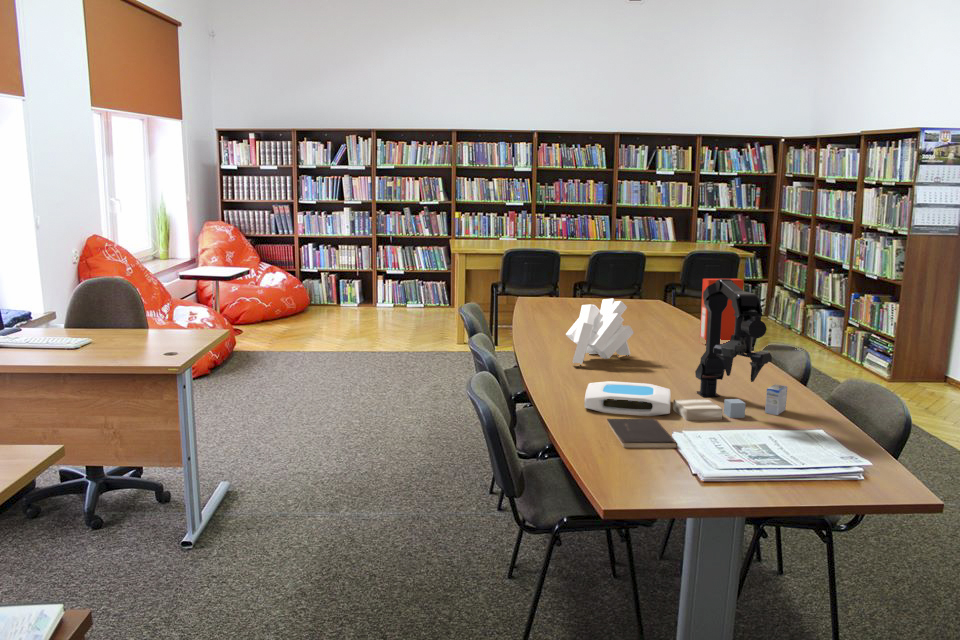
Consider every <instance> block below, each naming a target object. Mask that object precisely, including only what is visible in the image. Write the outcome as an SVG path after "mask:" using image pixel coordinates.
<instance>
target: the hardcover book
mask: <svg viewBox="0 0 960 640" xmlns="http://www.w3.org/2000/svg"><path fill="white" fill-rule="evenodd" d="M606 420H607V422H608V423H607V424H608V426H609V427H610V429H611V430H612V432H613V434H614V435H615V437H616V438H617V440H618V441H619V442H620V445H621V446H622V447H623V448H629V449H630V448H636V449H637V448H643V449H645V448H656V449H657V448H662V449H663V448H678V442H677V441H676V440H675V439H674V437H673V436H672V435H671V434H670V433H669V432H668V431H667V430H666V429H665V428H664V426H663V425H662V424H661V423H660V421H658V420H657V419H656V418H607V419H606Z"/></svg>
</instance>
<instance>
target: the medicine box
mask: <svg viewBox="0 0 960 640" xmlns="http://www.w3.org/2000/svg"><path fill="white" fill-rule="evenodd" d="M787 396H788V386H787V385H782V384H776V383H775V384H772V385H771V386H769V387H768V388H766V394H765V407H764V408H765V410H764V413H765V414H768V415H773V414H774V416H779V415H780V414H782V413H783V412H785V411H786V407H787V398H788V397H787Z"/></svg>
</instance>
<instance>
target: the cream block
mask: <svg viewBox="0 0 960 640" xmlns="http://www.w3.org/2000/svg"><path fill="white" fill-rule="evenodd" d="M672 404H673V405H672V408H673V409H672V411H674V412H675V413H676V414H678V415H679V416H680V417H681V418H683V419H684V420H686V421H711V420H712V421H713V420H723V411H724V408H723V407H720V406H719V405H717V404H716V403H715V402H713V401H711V400H710V399H708V398H703V399H702V398H697V399H695V398H694V399H692V398H691V399H673V403H672Z"/></svg>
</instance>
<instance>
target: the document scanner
mask: <svg viewBox="0 0 960 640" xmlns="http://www.w3.org/2000/svg"><path fill="white" fill-rule="evenodd" d="M607 399H614V400H613V401H617V400H628V401H627V402H632V401H638V402H637V403H643V402H647V403H646V404H650V403H651V404H652V405H651V406H652V407H651V408H649V409H647V408H645V409H639V408H637V409H636V408H623V407H614V406H613V407H612V406H605V405H604V402H605V401H604V400H607ZM607 401H608V400H607ZM583 407H584V408H585V409H589V410H593V411H597V412H599V413H603V414H613V415H614V414H615V415H629V416H630V415H631V416H640V417H641V416H642V417H652V416H661V415H668V414H670V413H671V389H670V388H667V387H663V386H659V385H656V384H652V383H643V382H627V381H613V380H612V381H611V380H609V381H598V382H596V381H595V382H589V383H588V384H587V387H586V390H585V395H584V405H583Z"/></svg>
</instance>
